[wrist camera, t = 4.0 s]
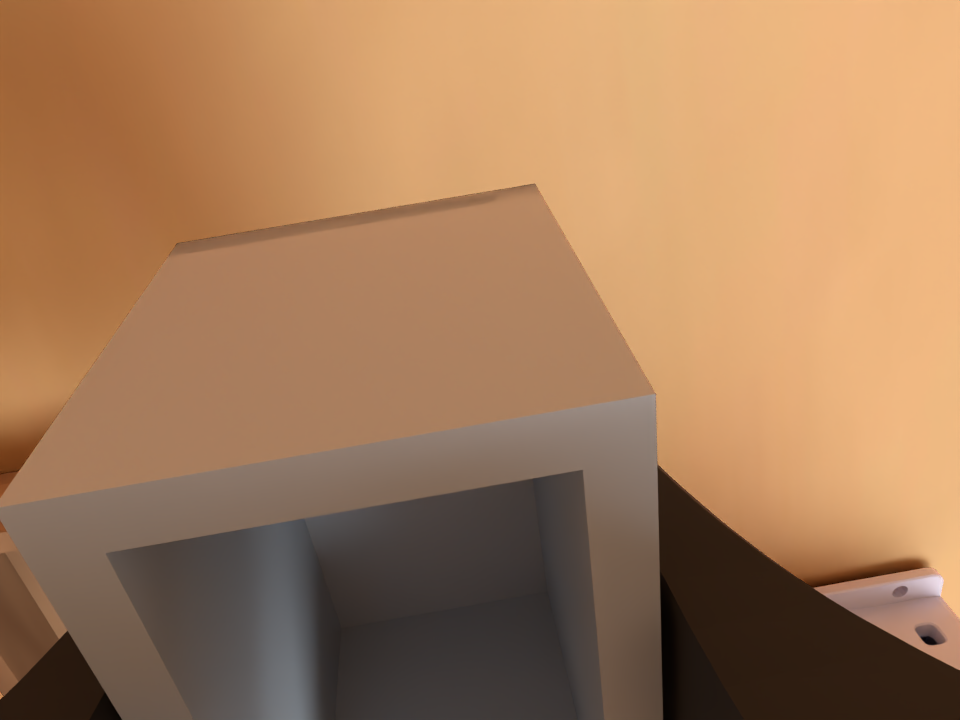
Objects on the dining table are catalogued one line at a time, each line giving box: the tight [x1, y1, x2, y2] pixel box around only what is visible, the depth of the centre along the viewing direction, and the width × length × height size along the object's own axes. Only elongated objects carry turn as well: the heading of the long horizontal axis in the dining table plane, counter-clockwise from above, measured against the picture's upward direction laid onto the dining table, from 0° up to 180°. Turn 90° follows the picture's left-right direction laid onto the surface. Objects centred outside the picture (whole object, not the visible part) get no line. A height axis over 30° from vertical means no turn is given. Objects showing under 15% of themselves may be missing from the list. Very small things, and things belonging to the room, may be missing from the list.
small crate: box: [0, 184, 663, 720], centre depth 10 cm, size 5×8×6 cm, turn 8°
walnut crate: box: [0, 471, 68, 696], centre depth 22 cm, size 9×12×2 cm
